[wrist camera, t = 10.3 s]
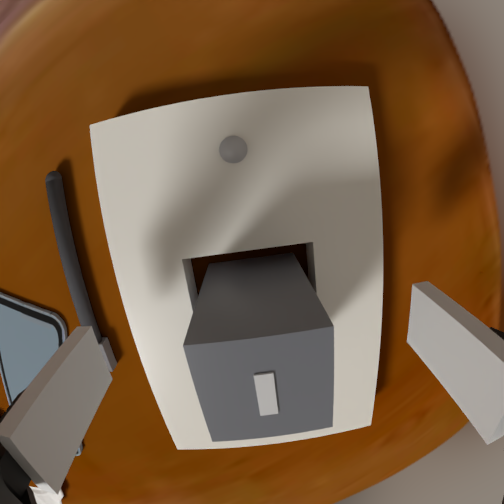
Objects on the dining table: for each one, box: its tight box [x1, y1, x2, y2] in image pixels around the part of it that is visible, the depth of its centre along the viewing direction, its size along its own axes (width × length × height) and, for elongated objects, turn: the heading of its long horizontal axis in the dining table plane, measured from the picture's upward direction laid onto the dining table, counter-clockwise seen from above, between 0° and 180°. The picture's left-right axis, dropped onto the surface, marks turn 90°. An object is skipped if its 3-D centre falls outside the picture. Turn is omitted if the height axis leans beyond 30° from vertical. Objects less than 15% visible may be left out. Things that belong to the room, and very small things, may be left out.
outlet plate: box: [90, 86, 383, 449], centre depth 16 cm, size 20×13×2 cm, turn 7°
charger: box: [183, 252, 334, 442], centre depth 13 cm, size 4×4×8 cm
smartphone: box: [0, 292, 83, 456], centre depth 19 cm, size 7×1×15 cm
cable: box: [45, 171, 117, 372], centre depth 16 cm, size 12×1×1 cm, turn 7°
